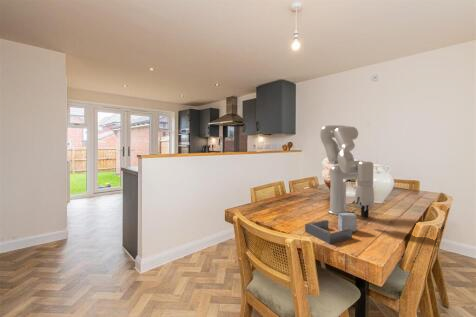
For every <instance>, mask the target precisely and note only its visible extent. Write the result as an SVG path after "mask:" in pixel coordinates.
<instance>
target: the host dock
mask: <svg viewBox="0 0 476 317" xmlns="http://www.w3.org/2000/svg"><path fill="white" fill-rule="evenodd" d="M327 229H329V220H327V219H325V220H321V221H320V220H319V221H314V222H310V223H306V224H304V233H306V234H309V235H310V236H313V237H315V238H317V239H318V240H321V241H323V242H324V243H327V244H329V245H330V244H335V243H338V242H342V241H347V240H351V239H353V231H352V230H351V229H348V230H343V231H340V230H339V231H336V232H331V231H328V230H327Z"/></svg>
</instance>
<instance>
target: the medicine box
mask: <svg viewBox="0 0 476 317" xmlns="http://www.w3.org/2000/svg"><path fill="white" fill-rule="evenodd" d="M337 217H338V219H337V229H338V230H339V231H343V230H348V229H351V230H352V232H357V227H358V226H357V221H358V216H357V215H356V214H355V213H352V212H348V213H339V214H338V215H337Z"/></svg>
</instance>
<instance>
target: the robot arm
mask: <svg viewBox="0 0 476 317" xmlns="http://www.w3.org/2000/svg"><path fill="white" fill-rule="evenodd" d="M319 136H320V141H321V142H322V144H323V146H324V147H323V148H324V149H325V153H326V158H327V161H328V162H329V164H330V165H332V166H330V168H329V171H328V175H329V180H330V181H329V182H330V188H329V189H330V190H329V191H330V192H329V194H330V196H329V208H328V209H327V213H329V214H331V215H335V216H338V214H339V213H349V211H348V210H349V209H351V206H350V205H347V204H346V203H347V185H346V184H345V180H346V181H347V180H357V184H356V185H357V186H356V188H355V195H354V204H356V206H357V208H359V210H360V217H361V218H364V219H369V213H370V212H369V211H370V208H371V207H372V206H373V205H374V203H375V192H374V162H372V161H364V160H355V158H354V155H353V154H352V150H354V149H355V147H356V144H355V142H354V140H356V139H357V138H358V136H359V131H358V129H357V127H355V126H348V125H339V124H338V125H337V124H335V125H334V124H333V125H330V124H329V125H325V126H323V127H321V129H320V133H319ZM334 139H335V140H334ZM356 178H357V179H356Z"/></svg>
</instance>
